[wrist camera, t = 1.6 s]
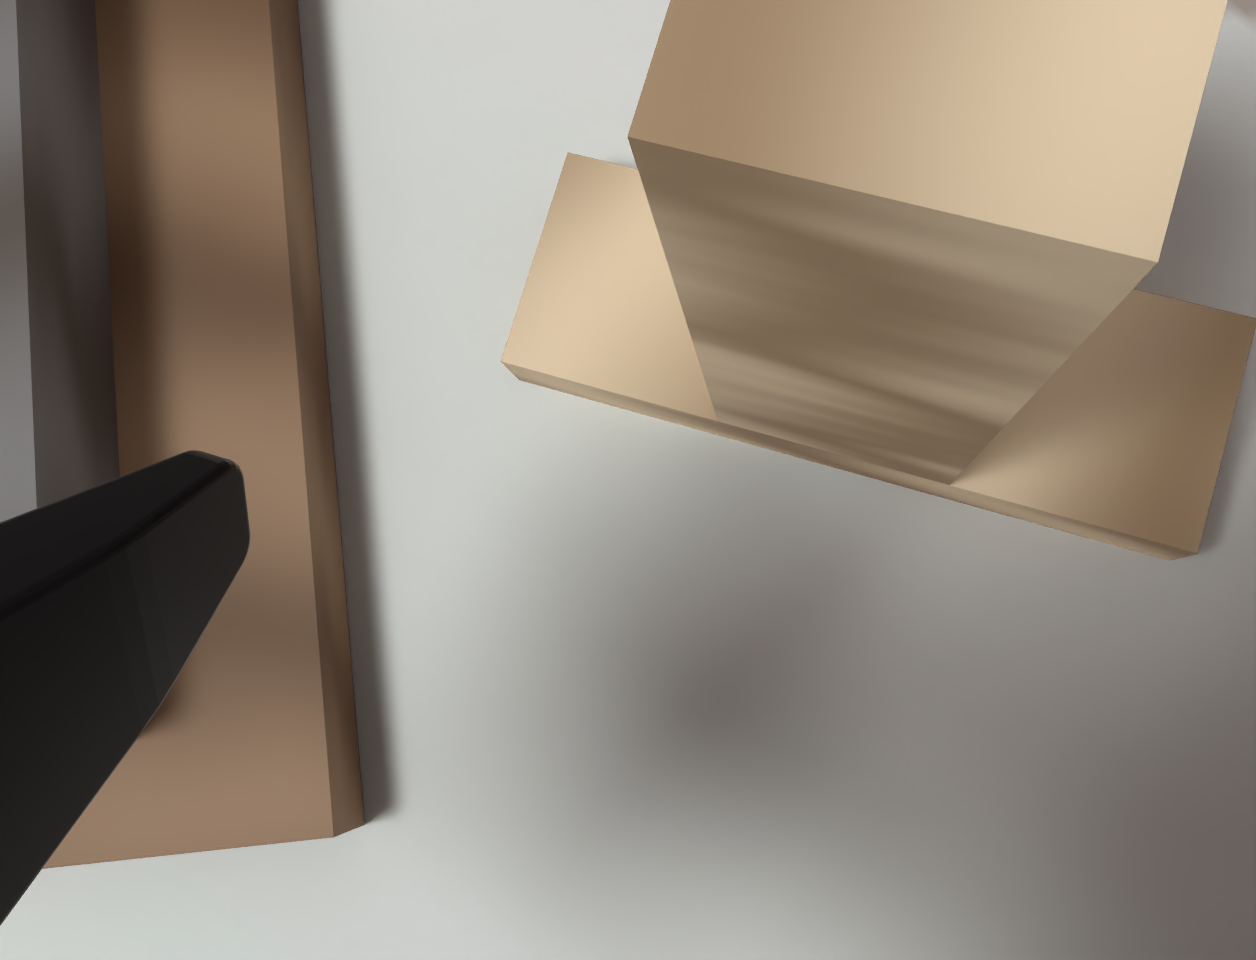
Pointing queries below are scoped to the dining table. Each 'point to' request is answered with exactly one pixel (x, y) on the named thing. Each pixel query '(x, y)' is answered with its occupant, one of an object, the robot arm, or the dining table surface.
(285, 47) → the stand
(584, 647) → the dining table surface
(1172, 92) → the oak T piece
